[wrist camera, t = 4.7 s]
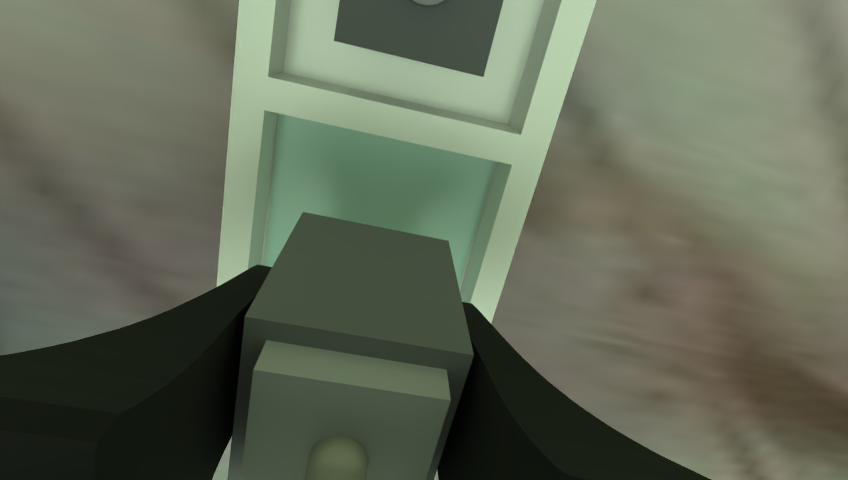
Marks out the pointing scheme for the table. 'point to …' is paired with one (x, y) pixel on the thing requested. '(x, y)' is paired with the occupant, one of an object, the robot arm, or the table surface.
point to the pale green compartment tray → (392, 135)
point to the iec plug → (350, 357)
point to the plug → (423, 30)
